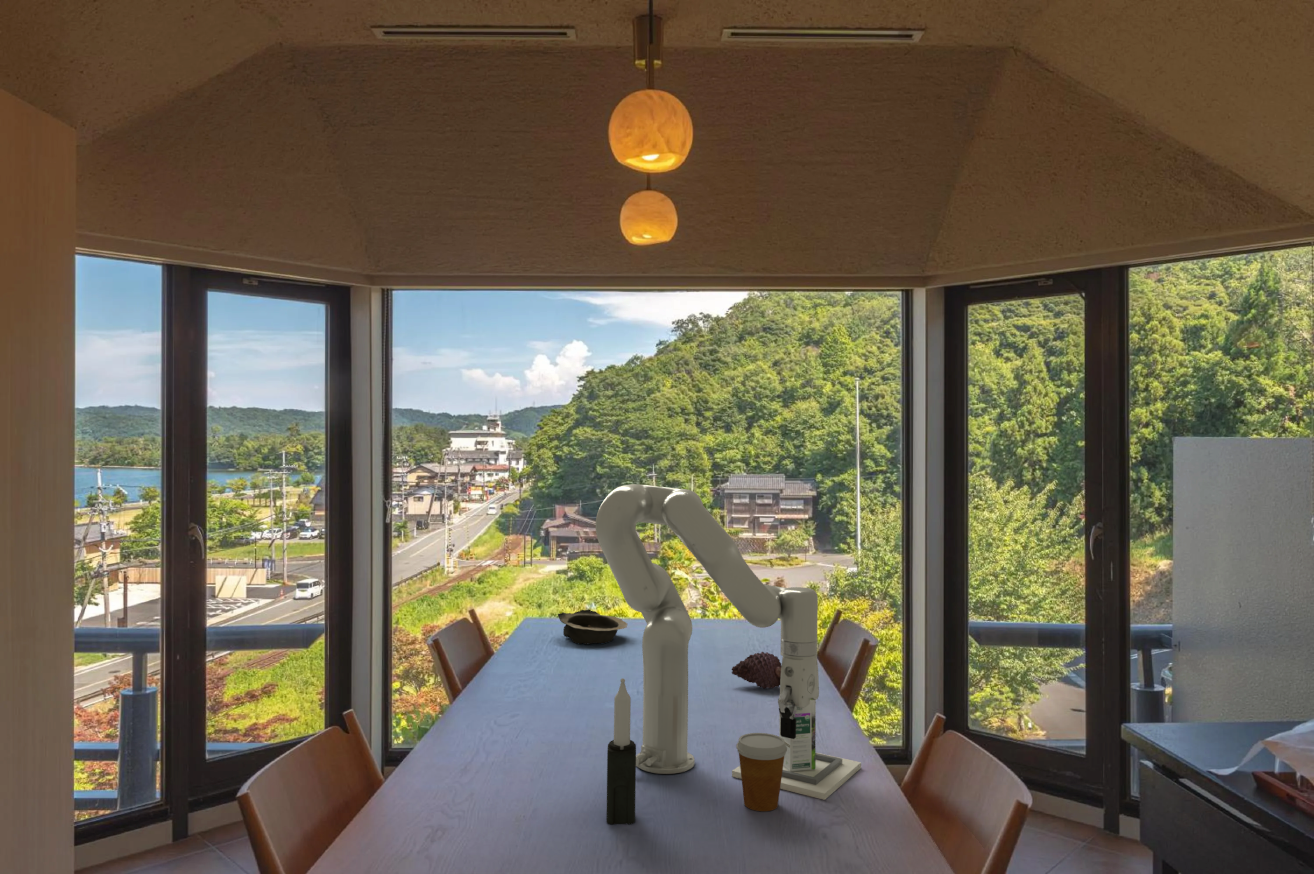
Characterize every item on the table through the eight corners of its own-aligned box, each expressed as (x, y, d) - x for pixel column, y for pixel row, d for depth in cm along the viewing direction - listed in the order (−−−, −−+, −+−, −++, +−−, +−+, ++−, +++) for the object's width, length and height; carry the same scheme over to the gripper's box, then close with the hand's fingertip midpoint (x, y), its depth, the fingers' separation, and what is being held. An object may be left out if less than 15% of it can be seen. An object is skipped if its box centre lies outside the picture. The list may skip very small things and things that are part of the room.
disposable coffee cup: (725, 803, 158) (725, 739, 158) (757, 790, 165) (757, 728, 165) (765, 820, 151) (766, 752, 152) (796, 805, 158) (797, 740, 158)
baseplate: (824, 799, 161) (824, 788, 161) (731, 776, 172) (732, 765, 172) (861, 767, 177) (861, 757, 177) (774, 748, 188) (774, 738, 188)
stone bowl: (549, 633, 304) (551, 607, 304) (616, 635, 311) (618, 610, 312) (562, 648, 280) (565, 620, 281) (634, 649, 288) (637, 622, 288)
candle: (634, 812, 154) (636, 674, 154) (635, 824, 149) (637, 682, 149) (606, 812, 154) (609, 674, 154) (606, 824, 149) (608, 682, 149)
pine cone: (730, 691, 234) (731, 655, 234) (731, 681, 243) (732, 647, 244) (795, 694, 231) (795, 657, 232) (793, 684, 241) (794, 649, 242)
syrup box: (790, 772, 171) (791, 700, 171) (778, 762, 177) (779, 692, 177) (815, 770, 172) (816, 698, 173) (803, 760, 178) (804, 691, 178)
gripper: (798, 658, 166) (797, 746, 165) (831, 642, 180) (830, 723, 180) (764, 653, 170) (763, 738, 169) (799, 638, 184) (798, 717, 184)
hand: (798, 730), depth 175 cm, fingers open, 9 cm apart
